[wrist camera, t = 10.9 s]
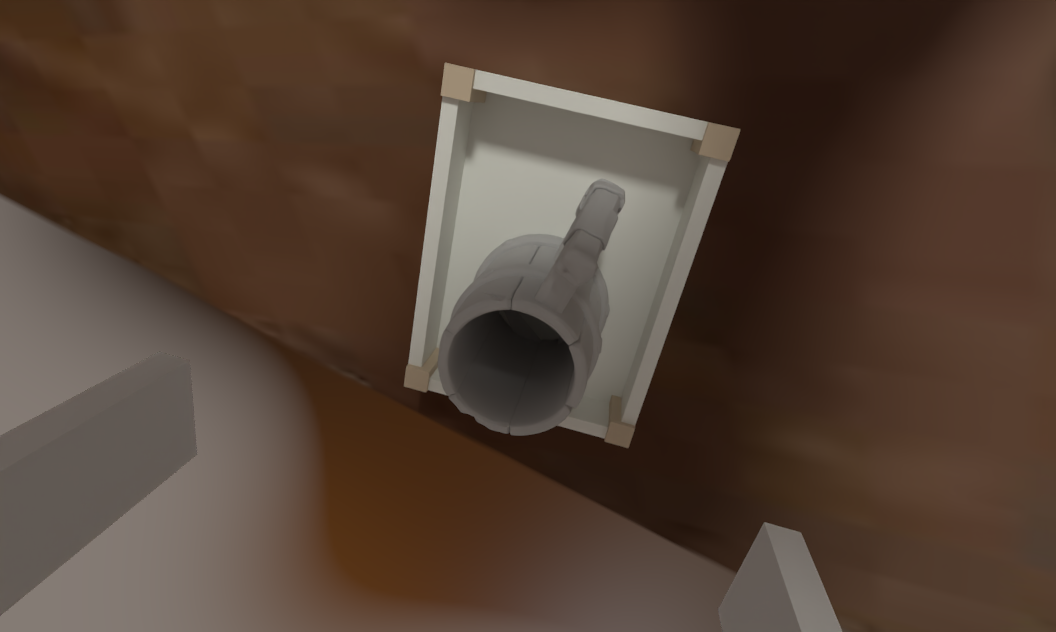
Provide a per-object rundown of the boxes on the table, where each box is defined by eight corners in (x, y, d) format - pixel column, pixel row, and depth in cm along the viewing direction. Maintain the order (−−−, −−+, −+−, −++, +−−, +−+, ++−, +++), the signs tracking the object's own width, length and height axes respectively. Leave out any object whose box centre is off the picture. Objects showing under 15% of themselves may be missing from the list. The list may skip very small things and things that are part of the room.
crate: (467, 68, 27) (444, 62, 23) (724, 126, 26) (740, 129, 22) (425, 358, 34) (403, 386, 30) (627, 412, 33) (628, 448, 29)
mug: (458, 313, 31) (371, 422, 20) (552, 132, 27) (503, 148, 16) (567, 373, 32) (538, 513, 21) (678, 206, 27) (717, 272, 16)
